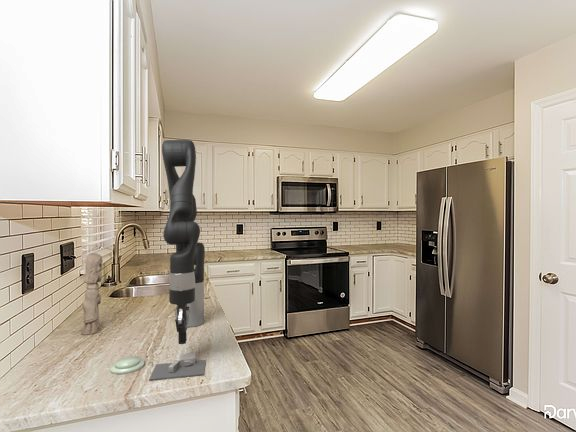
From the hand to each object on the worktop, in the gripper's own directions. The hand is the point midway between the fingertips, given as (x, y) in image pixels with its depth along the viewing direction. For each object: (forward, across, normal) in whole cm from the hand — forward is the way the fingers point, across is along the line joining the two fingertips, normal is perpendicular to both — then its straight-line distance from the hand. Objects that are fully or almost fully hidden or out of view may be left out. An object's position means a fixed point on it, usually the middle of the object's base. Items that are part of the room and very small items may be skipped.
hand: (182, 343), depth 97 cm
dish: (+5, +2, -15) cm, 16 cm away
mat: (+5, +8, 0) cm, 9 cm away
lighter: (+4, +2, 0) cm, 4 cm away
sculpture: (+5, -33, -37) cm, 50 cm away
